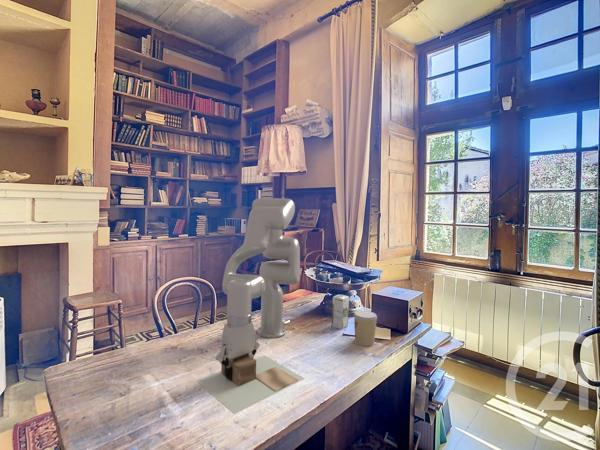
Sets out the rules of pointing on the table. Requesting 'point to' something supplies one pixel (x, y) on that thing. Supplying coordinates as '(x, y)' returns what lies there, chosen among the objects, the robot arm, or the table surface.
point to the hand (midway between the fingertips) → (238, 374)
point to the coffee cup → (365, 327)
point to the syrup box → (340, 311)
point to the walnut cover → (242, 369)
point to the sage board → (243, 387)
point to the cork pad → (276, 378)
